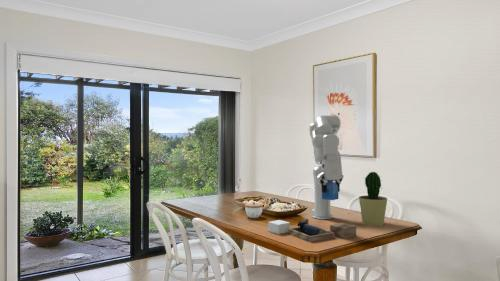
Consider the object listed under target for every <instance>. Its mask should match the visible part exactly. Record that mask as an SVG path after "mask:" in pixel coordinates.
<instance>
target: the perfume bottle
mask: <svg viewBox="0 0 500 281" xmlns="http://www.w3.org/2000/svg"><path fill="white" fill-rule="evenodd" d="M325 185H327V192H326V193H324V192H322V199H326V200H330V201H336V200H339V192H338V186H337V184H336V182H335V181H333V180H327V182H326V184H325Z"/></svg>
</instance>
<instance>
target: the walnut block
mask: <svg viewBox="0 0 500 281" xmlns="http://www.w3.org/2000/svg"><path fill="white" fill-rule="evenodd" d="M329 229H330V230H329V231H331V232H334V233H335V238H339V239H343V240H347V239H350V238H354V237H356V236H357V225H355V224H350V223H345V222H338V223H334V224H330V225H329Z"/></svg>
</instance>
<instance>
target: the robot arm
mask: <svg viewBox="0 0 500 281" xmlns="http://www.w3.org/2000/svg"><path fill="white" fill-rule="evenodd" d="M341 123H342V122H341V119H340V117H339V116H337V115H319V116H317V118H316V120H315V122H311V124H310V125H309V128H308V130H309V136H310V138H311V144H312V146H313V151H314V152H313V153H314V162H315V163H316V164H317V166H315V167H314V168H313V170H312V175H313V182H314V184H313V186H314V208H313V209H311V212H313V214H311V216H312V218H313V219H317V220H330V219H333V218H334V215H333V214H331V200H326V199H322V192H324V193H326V192H327V185H325V184H326V182H327V180H333V182H336V184H337V186H338V193H340V191H341V190H340V189H341V187H340V184H342V181H343V179H344V175H343V167H342V157H341V153H340V151H339V148H338V147H339V145H340V138H339V137H338V135H337V134H338V132H339V131H340V128H341Z"/></svg>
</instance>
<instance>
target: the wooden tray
mask: <svg viewBox="0 0 500 281" xmlns="http://www.w3.org/2000/svg"><path fill="white" fill-rule="evenodd" d="M299 228H300V226H299V227H298V226H297V227H290V228H289V229H288V232H287V234H289V235H291V236H292V237H293V236H294V237H296V238H299V239H301V240H303V241H306V242H309V243H313V242H319V241H325V240H330V239H335V238H336V237H335V233H334V232H331V231H330V230H328V229H325V228H321V227H320V228H321V229H322V230H323V234H320V235H310V234H307V233H305V232H304V233H301V232H298V229H299Z"/></svg>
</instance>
